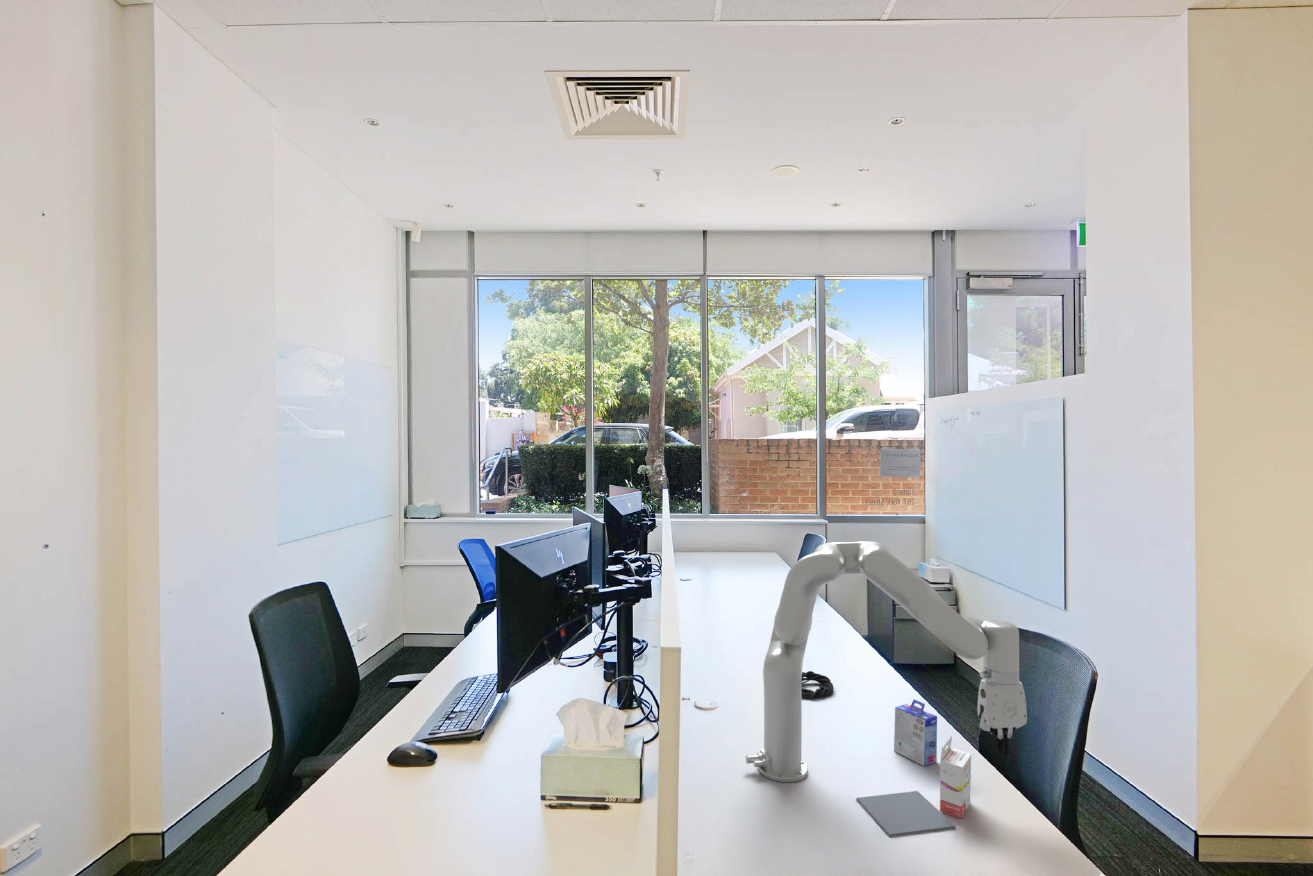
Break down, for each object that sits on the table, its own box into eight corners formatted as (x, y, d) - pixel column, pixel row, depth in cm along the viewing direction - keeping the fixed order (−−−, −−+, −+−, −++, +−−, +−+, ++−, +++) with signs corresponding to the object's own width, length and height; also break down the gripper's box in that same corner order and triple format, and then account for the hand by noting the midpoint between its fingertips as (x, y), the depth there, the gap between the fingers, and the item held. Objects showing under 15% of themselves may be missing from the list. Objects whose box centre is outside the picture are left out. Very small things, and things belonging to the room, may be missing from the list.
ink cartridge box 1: (938, 762, 167) (938, 707, 167) (925, 767, 164) (925, 711, 164) (906, 746, 176) (906, 694, 176) (893, 751, 173) (893, 698, 173)
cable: (819, 680, 225) (819, 667, 225) (846, 694, 212) (846, 681, 212) (778, 687, 218) (779, 674, 218) (804, 703, 205) (804, 689, 205)
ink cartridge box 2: (962, 820, 142) (963, 754, 142) (939, 811, 145) (939, 747, 145) (971, 803, 149) (972, 740, 149) (949, 795, 152) (949, 734, 152)
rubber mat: (889, 836, 136) (889, 834, 136) (856, 799, 149) (856, 797, 149) (955, 828, 139) (955, 826, 139) (917, 793, 153) (917, 790, 153)
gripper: (984, 683, 144) (984, 764, 144) (1040, 678, 147) (1041, 758, 147) (962, 671, 151) (962, 748, 151) (1016, 667, 154) (1016, 742, 154)
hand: (1001, 753), depth 149 cm, fingers closed
